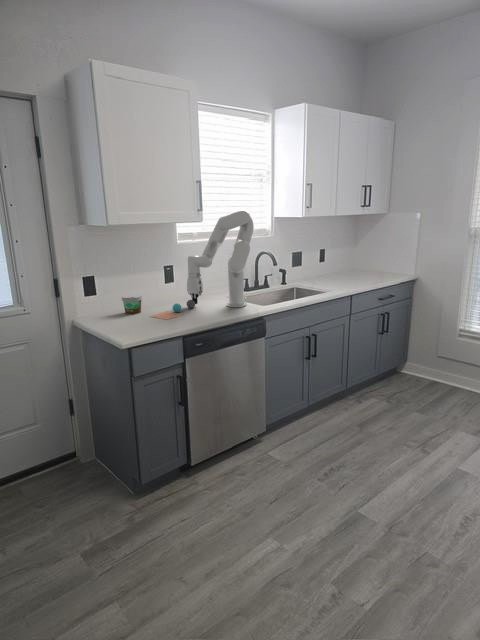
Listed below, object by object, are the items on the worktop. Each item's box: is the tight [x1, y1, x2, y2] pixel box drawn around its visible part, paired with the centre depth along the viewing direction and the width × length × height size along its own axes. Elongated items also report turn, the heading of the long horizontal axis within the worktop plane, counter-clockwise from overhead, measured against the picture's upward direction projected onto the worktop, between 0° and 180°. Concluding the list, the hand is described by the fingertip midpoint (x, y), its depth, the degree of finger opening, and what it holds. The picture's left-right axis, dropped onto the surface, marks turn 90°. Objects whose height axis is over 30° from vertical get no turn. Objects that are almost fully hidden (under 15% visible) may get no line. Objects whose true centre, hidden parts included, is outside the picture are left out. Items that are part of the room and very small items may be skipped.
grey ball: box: [186, 299, 196, 309], centre depth 271 cm, size 6×6×6 cm
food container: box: [121, 296, 143, 315], centre depth 260 cm, size 12×6×10 cm, turn 92°
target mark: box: [149, 311, 184, 320], centre depth 254 cm, size 14×14×1 cm
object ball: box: [171, 303, 182, 313], centre depth 261 cm, size 6×6×6 cm
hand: (194, 303), depth 275 cm, fingers closed
